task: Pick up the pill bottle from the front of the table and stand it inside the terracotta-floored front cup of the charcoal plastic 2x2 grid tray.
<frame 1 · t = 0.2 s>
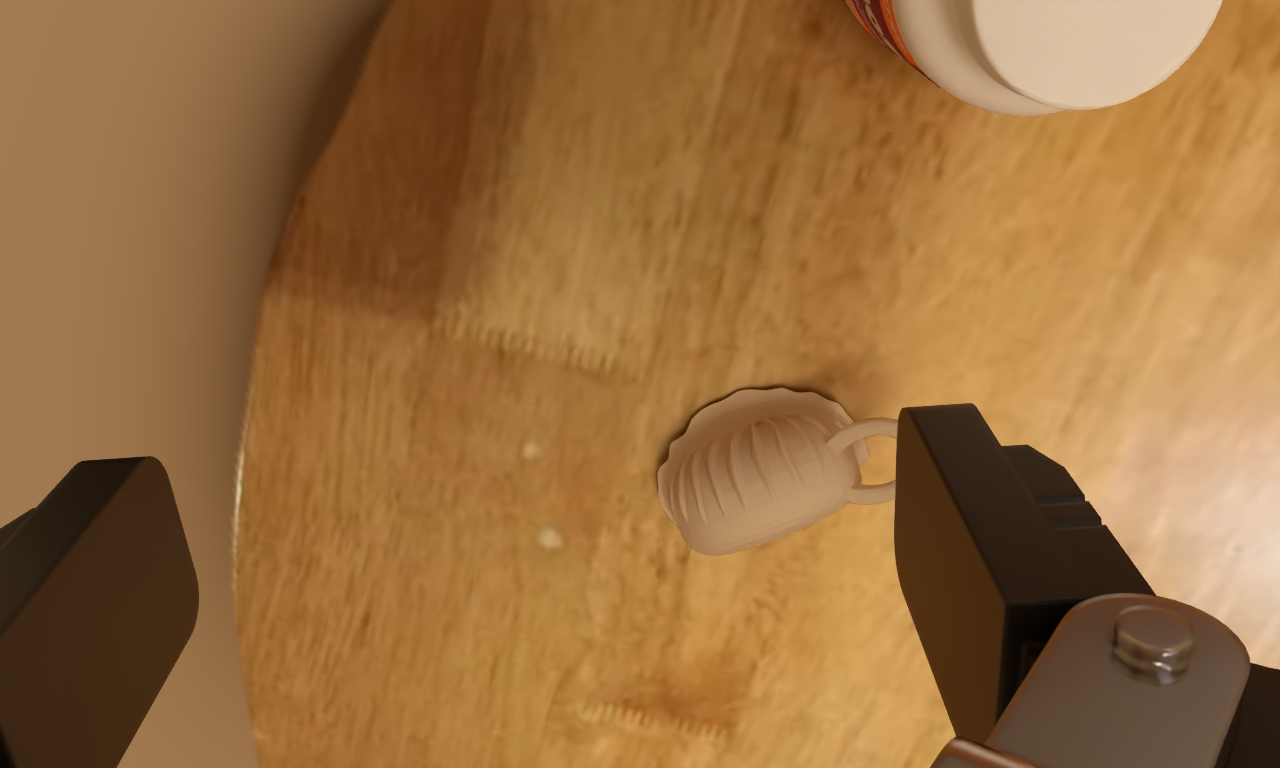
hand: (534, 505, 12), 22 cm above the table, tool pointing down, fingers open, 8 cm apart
decorative ornament: (771, 441, 37), on the table
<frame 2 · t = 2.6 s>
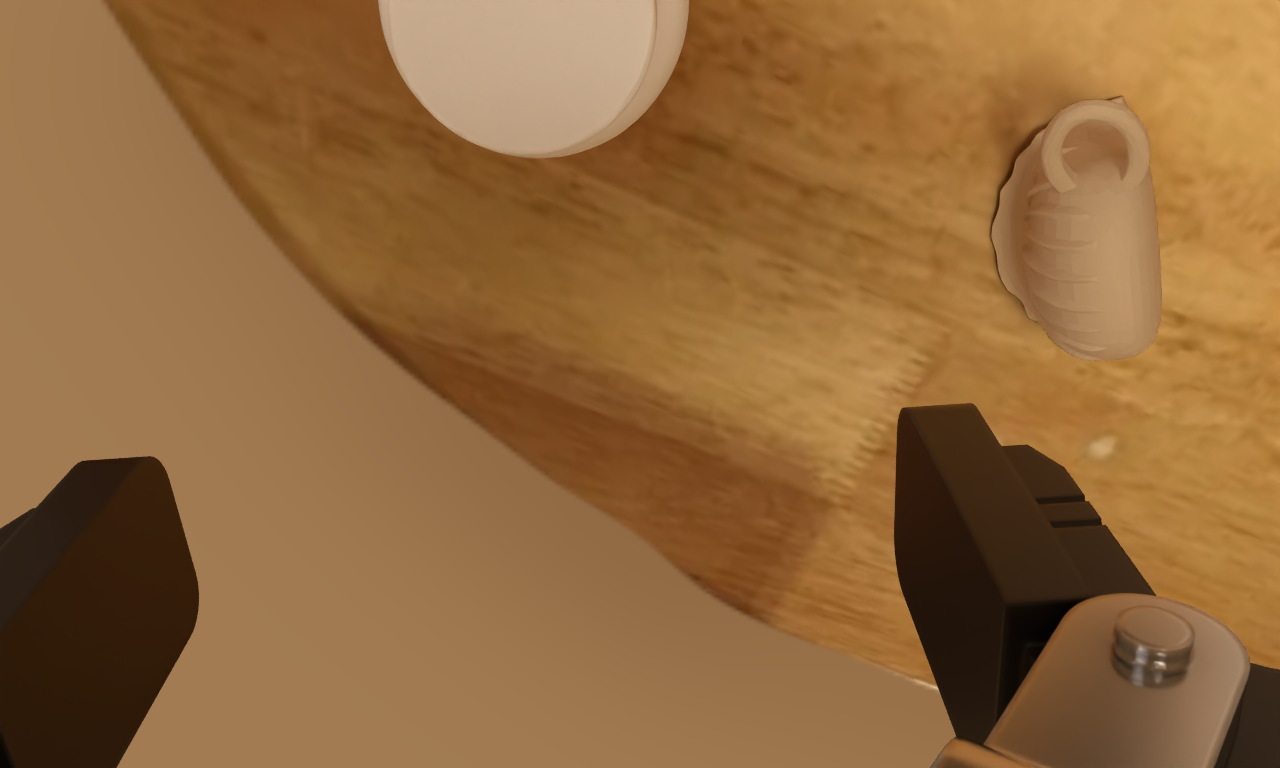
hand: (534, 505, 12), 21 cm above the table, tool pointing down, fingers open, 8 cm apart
decorative ornament: (1066, 204, 32), on the table
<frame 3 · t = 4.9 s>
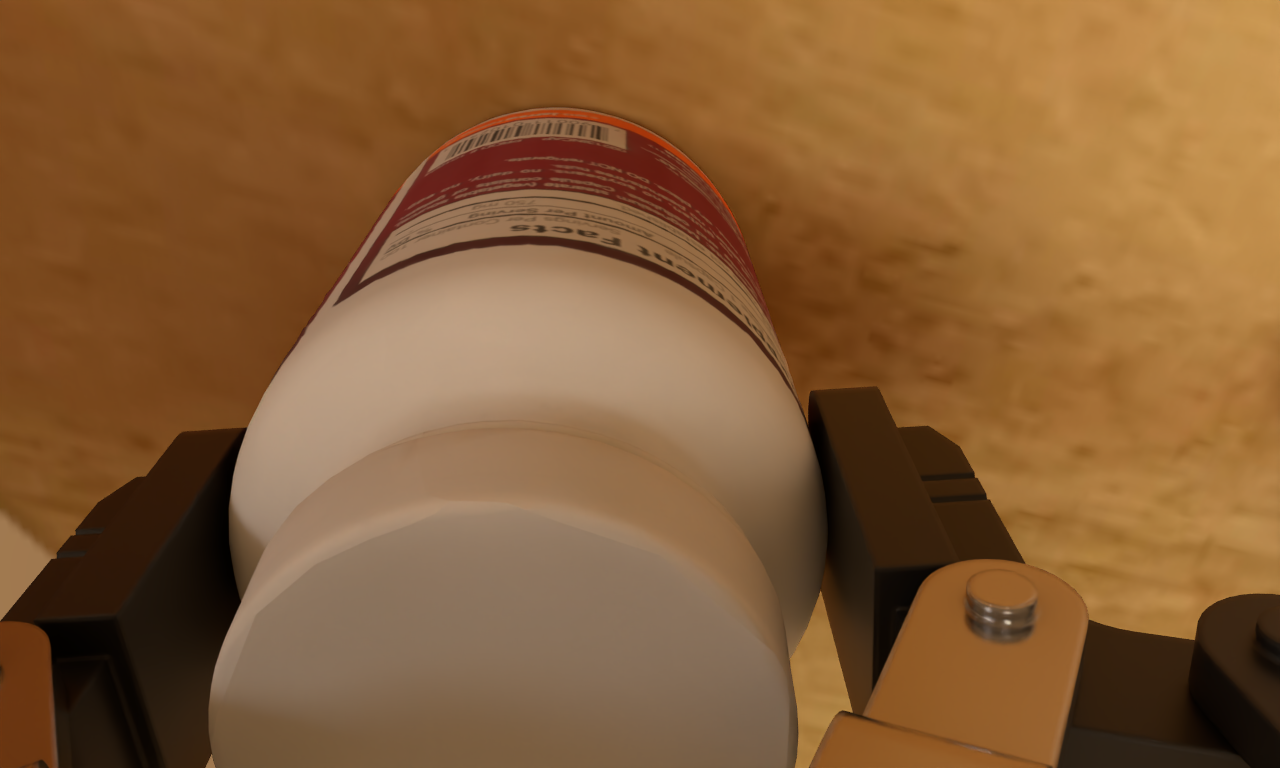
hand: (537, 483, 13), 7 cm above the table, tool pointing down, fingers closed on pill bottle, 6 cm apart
pill bottle: (566, 280, 19), on the table, touching gripper
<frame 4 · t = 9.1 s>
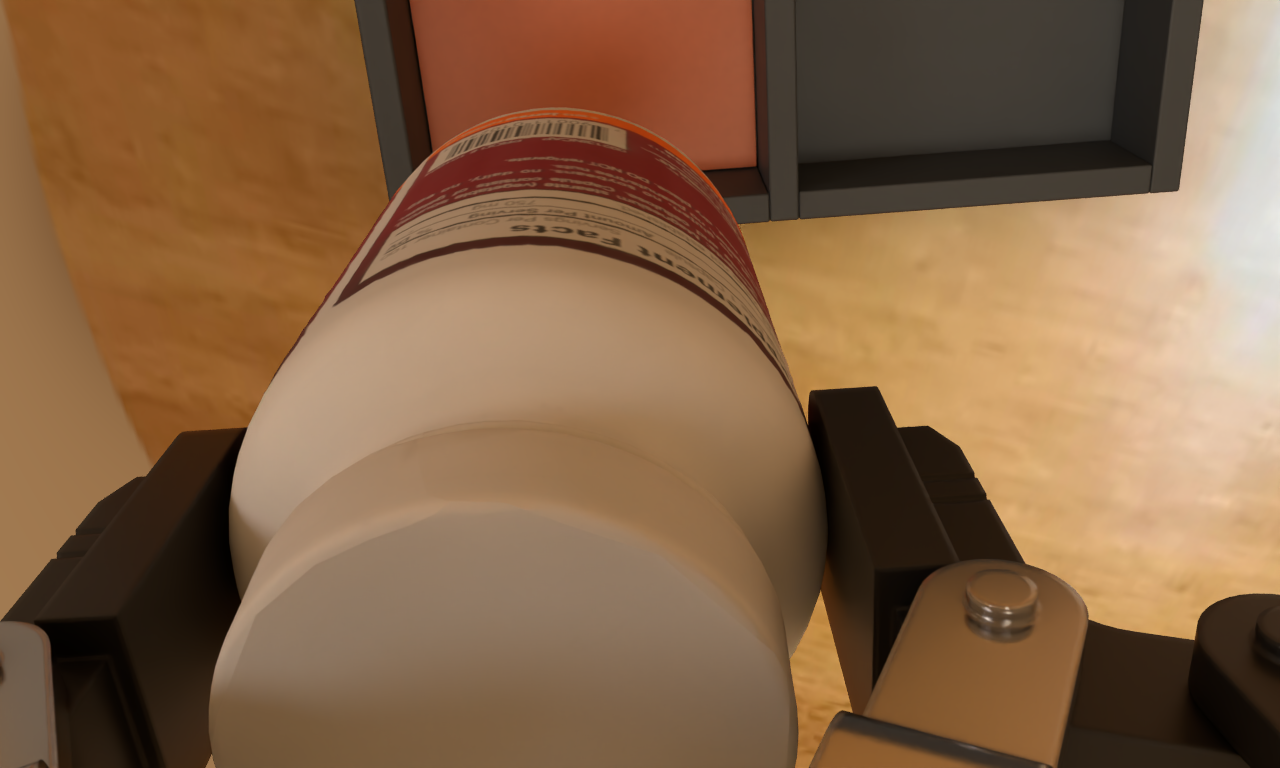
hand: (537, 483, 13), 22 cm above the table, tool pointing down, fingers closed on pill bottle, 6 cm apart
pill bottle: (566, 280, 19), point 15 cm above the table, touching gripper
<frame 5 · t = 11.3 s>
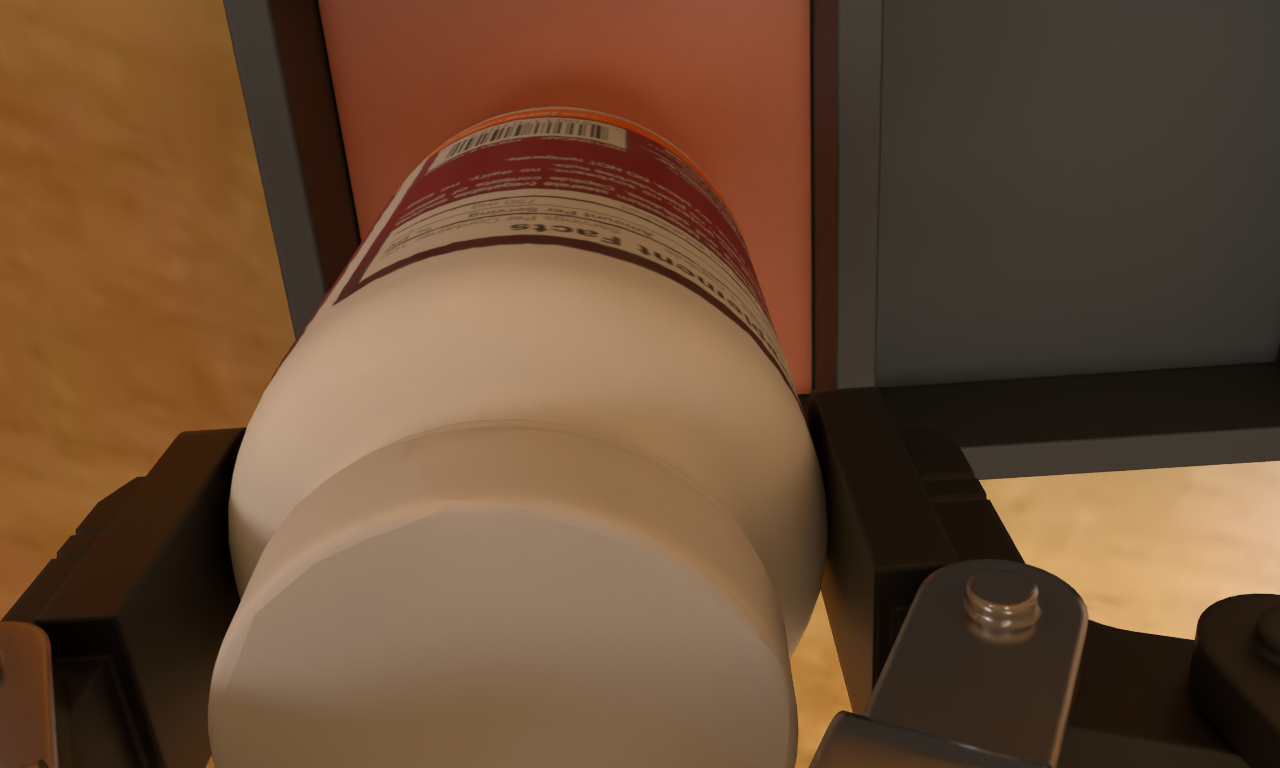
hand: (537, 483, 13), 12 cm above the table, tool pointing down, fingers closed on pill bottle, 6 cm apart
pill bottle: (566, 279, 19), point 5 cm above the table, touching gripper
when the fingers open (7 cm above the table, at t = 13.1 s): pill bottle stays where it is, resting on grid.
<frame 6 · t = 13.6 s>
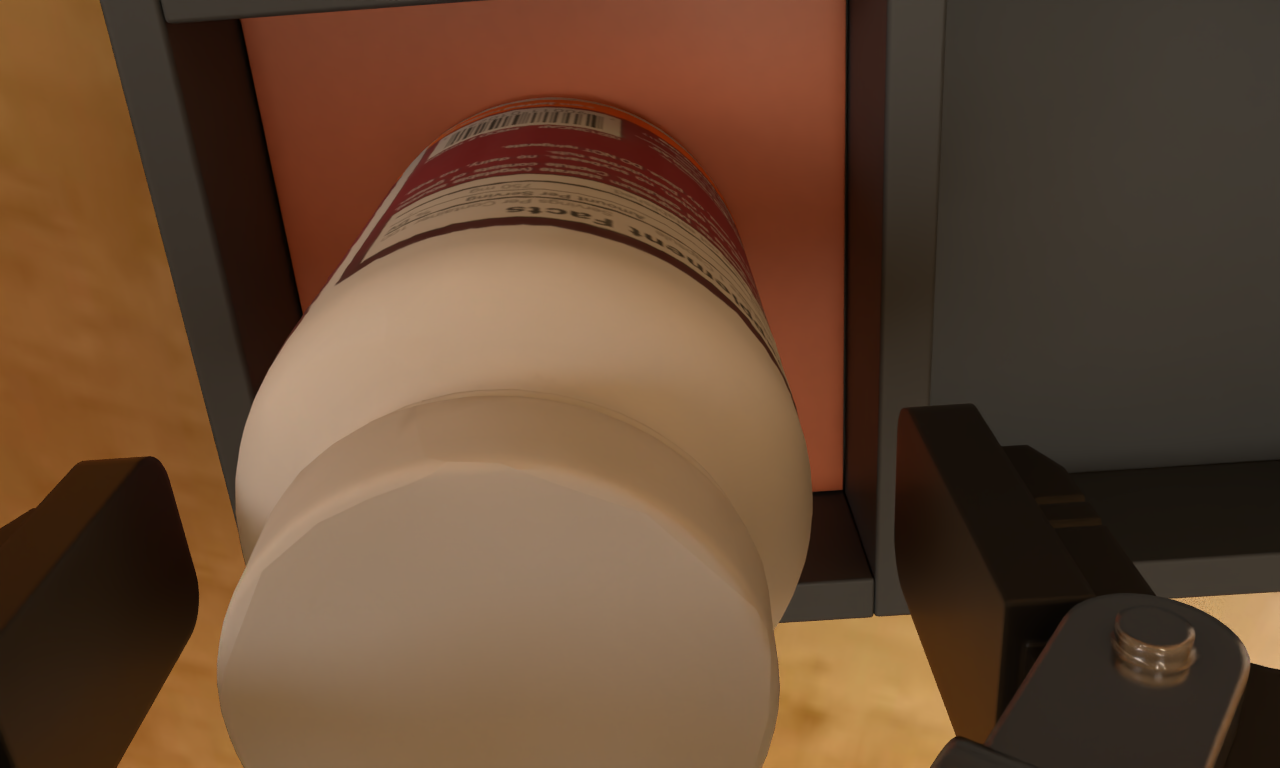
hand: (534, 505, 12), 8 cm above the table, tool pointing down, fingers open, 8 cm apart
pill bottle: (563, 267, 19), point 1 cm above the table, touching grid
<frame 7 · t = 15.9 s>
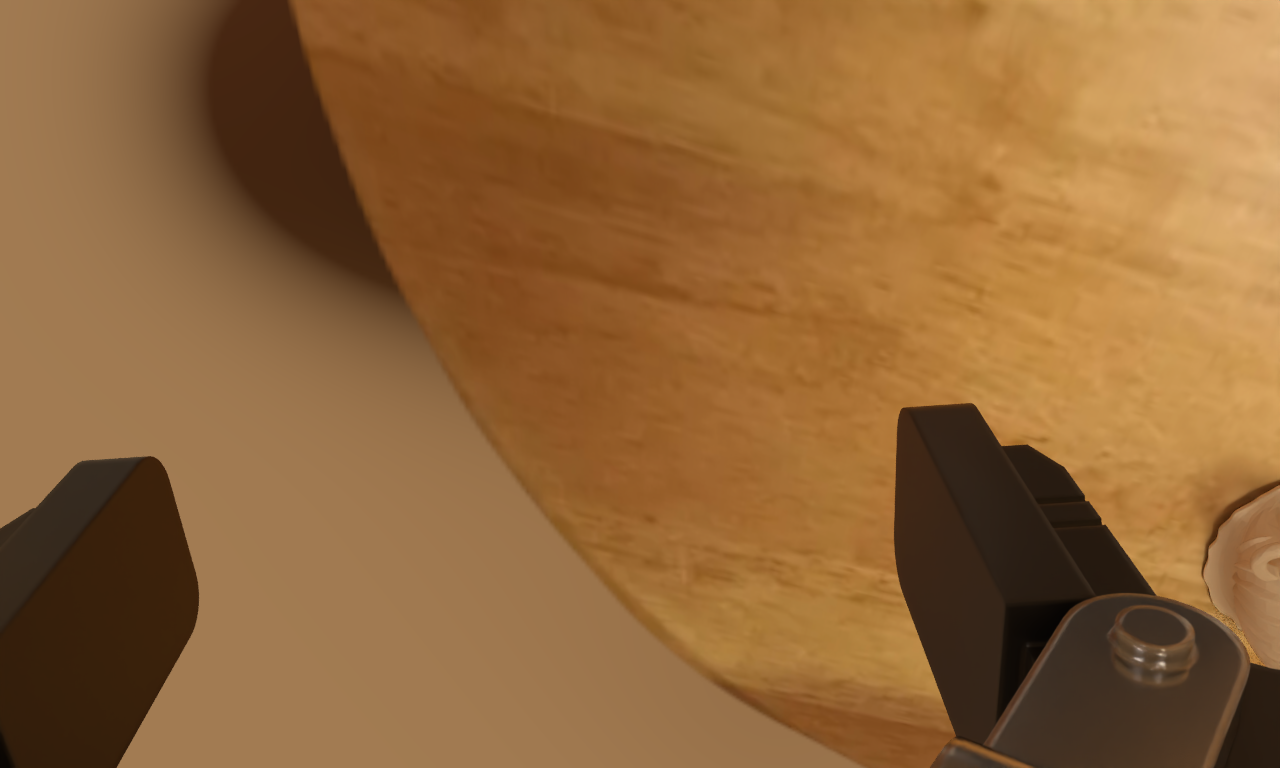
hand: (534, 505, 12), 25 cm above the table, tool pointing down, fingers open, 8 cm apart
decorative ornament: (1259, 546, 42), on the table
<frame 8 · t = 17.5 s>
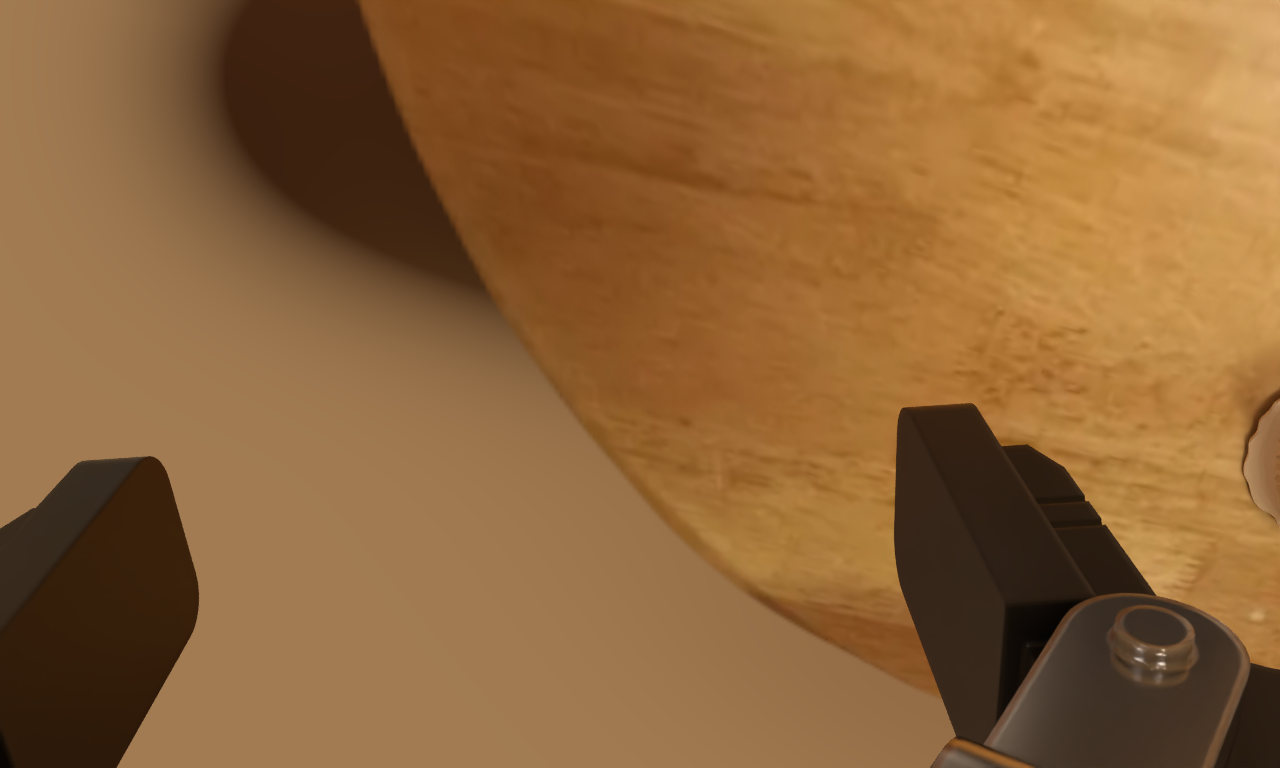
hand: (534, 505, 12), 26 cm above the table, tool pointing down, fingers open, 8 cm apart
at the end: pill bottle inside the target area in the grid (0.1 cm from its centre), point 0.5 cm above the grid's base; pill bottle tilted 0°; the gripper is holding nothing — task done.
